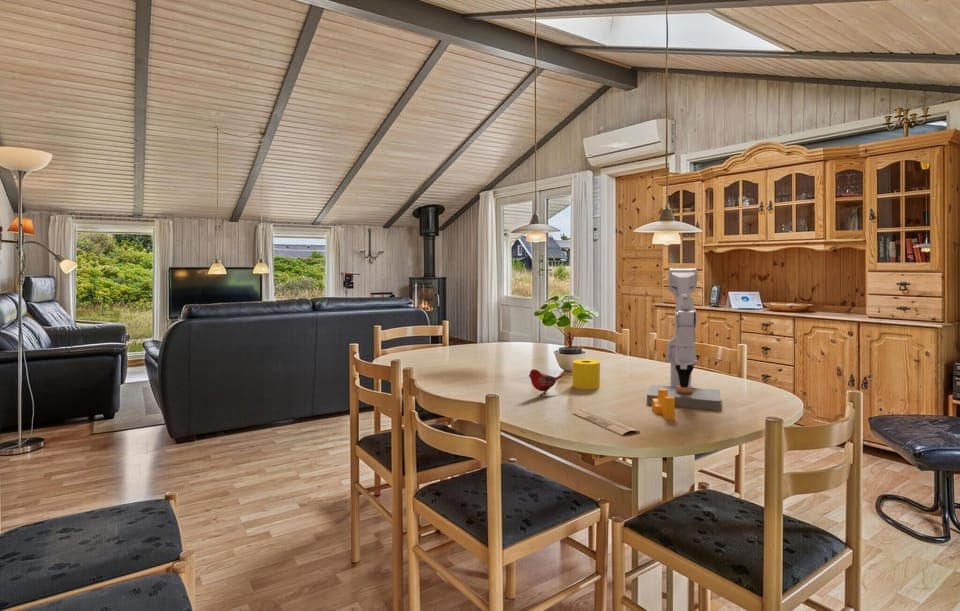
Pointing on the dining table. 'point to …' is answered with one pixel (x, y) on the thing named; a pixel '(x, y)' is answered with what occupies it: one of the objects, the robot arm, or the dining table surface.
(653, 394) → the plate
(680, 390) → the knob
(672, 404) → the pipe clamp
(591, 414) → the newspaper
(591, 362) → the yellow toilet paper roll
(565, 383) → the dining table surface
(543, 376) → the decorative bird figurine
